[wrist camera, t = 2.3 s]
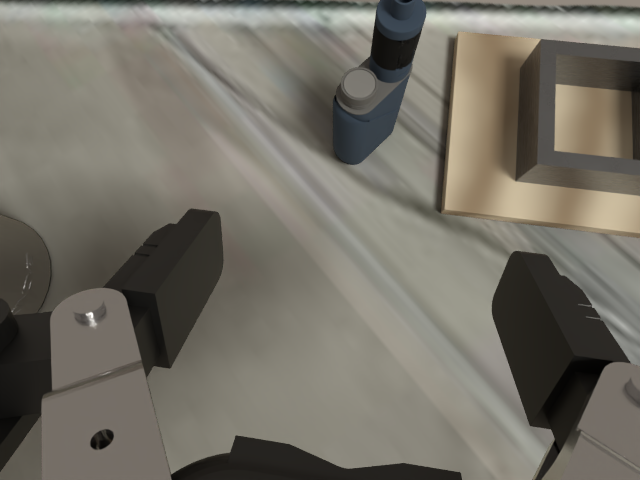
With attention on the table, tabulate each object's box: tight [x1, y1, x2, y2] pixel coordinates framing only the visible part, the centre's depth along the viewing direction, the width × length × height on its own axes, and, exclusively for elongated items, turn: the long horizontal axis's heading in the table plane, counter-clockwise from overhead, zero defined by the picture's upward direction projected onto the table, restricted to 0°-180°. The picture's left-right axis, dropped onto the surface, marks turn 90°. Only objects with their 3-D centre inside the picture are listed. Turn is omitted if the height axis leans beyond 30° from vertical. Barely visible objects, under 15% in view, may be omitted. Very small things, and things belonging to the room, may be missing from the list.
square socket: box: [515, 39, 640, 196], centre depth 26 cm, size 9×9×3 cm
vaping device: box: [333, 0, 426, 165], centre depth 23 cm, size 3×5×12 cm, turn 134°
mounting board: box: [441, 32, 640, 238], centre depth 28 cm, size 18×14×1 cm
